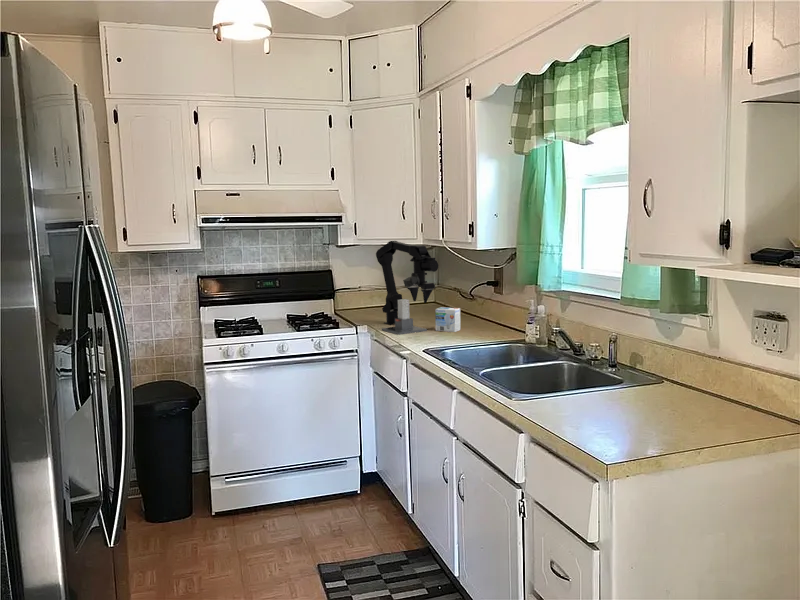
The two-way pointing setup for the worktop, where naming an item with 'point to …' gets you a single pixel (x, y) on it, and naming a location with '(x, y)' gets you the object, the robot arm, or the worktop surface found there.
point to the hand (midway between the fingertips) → (419, 302)
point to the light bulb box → (447, 319)
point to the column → (403, 309)
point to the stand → (403, 327)
